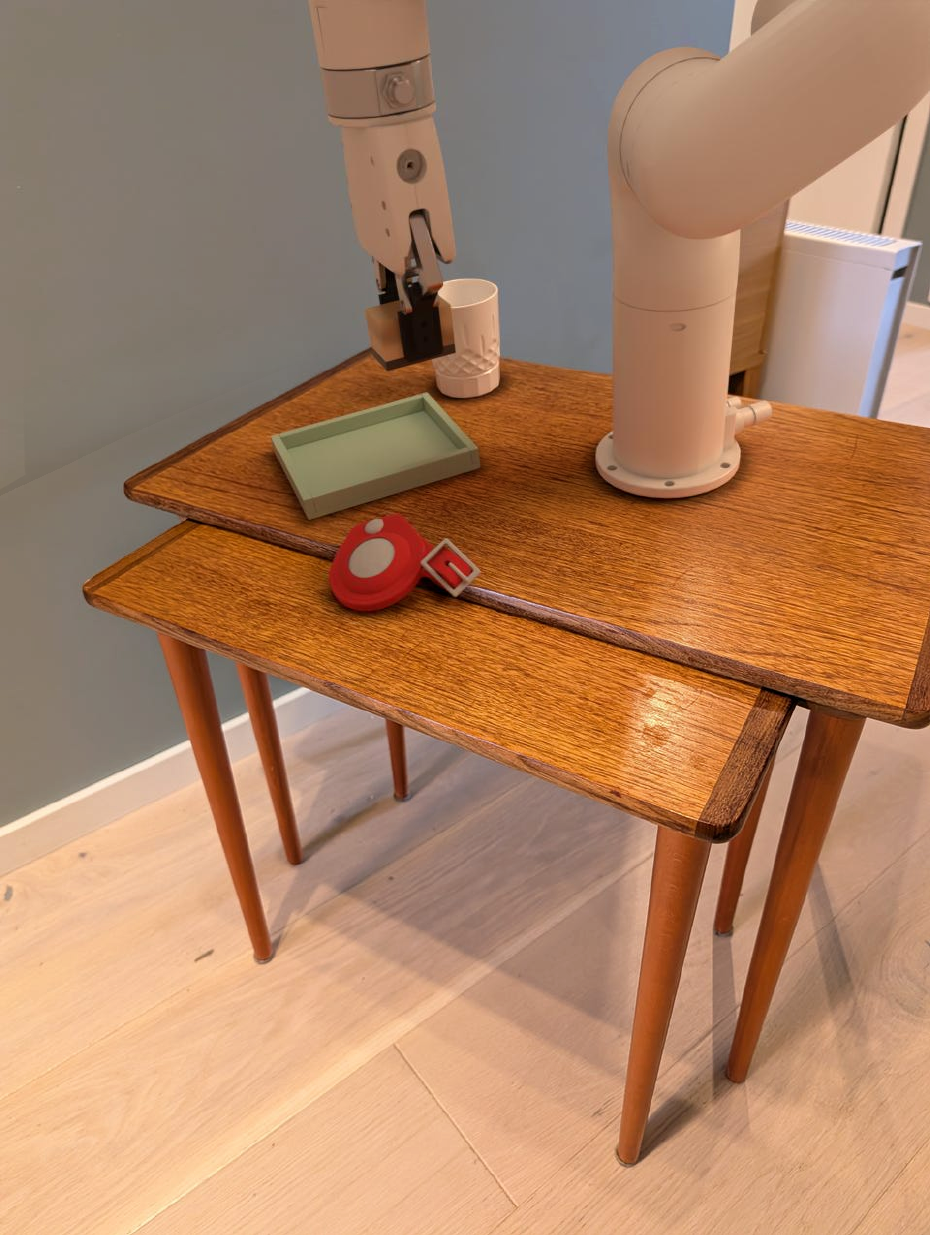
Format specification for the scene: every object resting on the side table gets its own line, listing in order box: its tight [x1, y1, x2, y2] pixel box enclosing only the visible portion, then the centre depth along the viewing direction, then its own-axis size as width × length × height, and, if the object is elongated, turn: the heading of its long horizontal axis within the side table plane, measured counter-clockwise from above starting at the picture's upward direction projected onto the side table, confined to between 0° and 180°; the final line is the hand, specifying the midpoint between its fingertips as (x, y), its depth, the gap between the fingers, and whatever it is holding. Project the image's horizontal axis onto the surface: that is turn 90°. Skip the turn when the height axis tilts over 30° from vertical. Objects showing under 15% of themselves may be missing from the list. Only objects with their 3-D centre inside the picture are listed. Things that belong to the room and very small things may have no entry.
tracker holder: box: [328, 512, 482, 612], centre depth 70 cm, size 12×4×10 cm
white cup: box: [431, 278, 501, 399], centre depth 94 cm, size 8×8×10 cm
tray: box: [270, 391, 481, 521], centre depth 86 cm, size 17×14×2 cm
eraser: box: [364, 295, 456, 372], centre depth 72 cm, size 6×4×4 cm, turn 113°
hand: (413, 345), depth 73 cm, fingers closed on eraser, 3 cm apart
